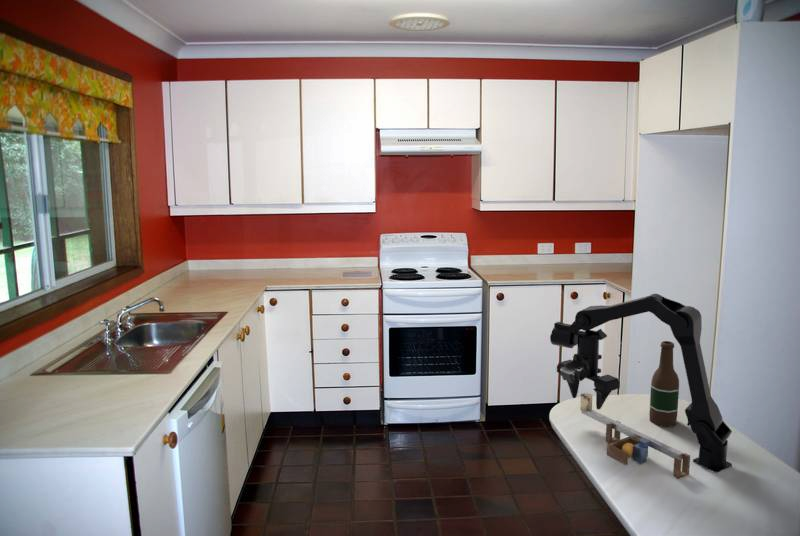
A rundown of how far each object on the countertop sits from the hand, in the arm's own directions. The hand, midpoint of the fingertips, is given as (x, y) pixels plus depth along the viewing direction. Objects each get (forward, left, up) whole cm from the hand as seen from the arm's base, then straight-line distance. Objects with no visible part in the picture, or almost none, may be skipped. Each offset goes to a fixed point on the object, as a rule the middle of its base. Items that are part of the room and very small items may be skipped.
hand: (586, 403), depth 168 cm
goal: (+3, +18, -7) cm, 19 cm away
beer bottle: (-21, +10, -7) cm, 24 cm away
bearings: (0, +20, -7) cm, 22 cm away
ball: (+3, +18, -5) cm, 19 cm away
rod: (+1, +14, -7) cm, 16 cm away
